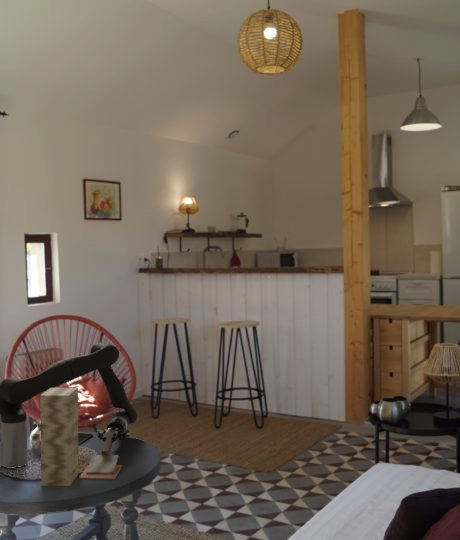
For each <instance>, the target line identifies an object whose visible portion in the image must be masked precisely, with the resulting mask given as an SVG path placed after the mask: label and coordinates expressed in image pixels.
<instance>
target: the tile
mask: <svg viewBox="0 0 460 540" xmlns="http://www.w3.org/2000/svg"><path fill="white" fill-rule="evenodd" d="M87 468H88V465H87V466H86V467H85V468H84V470H83V472H81V474H80V476H79V477H78V480H116V478H117V477H118V475H119V473H120V471H121V470H122V468H123V464H116V467H115V471H114V474H86V471H87Z"/></svg>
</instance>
